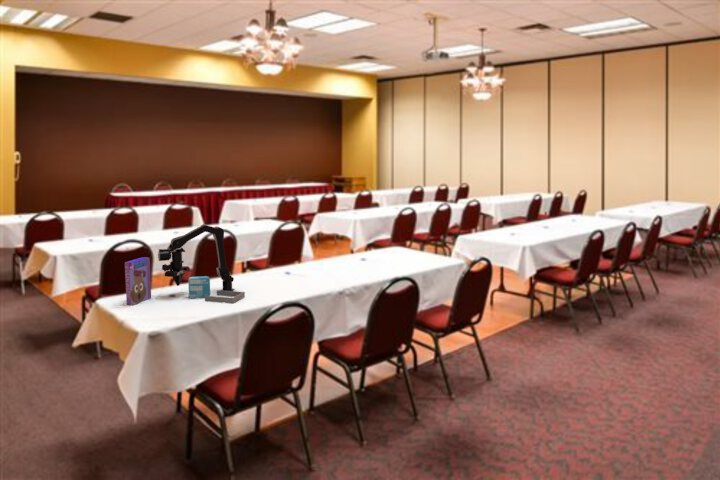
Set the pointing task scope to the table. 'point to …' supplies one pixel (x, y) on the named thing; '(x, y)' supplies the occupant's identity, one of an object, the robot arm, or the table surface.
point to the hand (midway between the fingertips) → (177, 285)
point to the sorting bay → (235, 298)
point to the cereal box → (138, 280)
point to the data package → (199, 287)
